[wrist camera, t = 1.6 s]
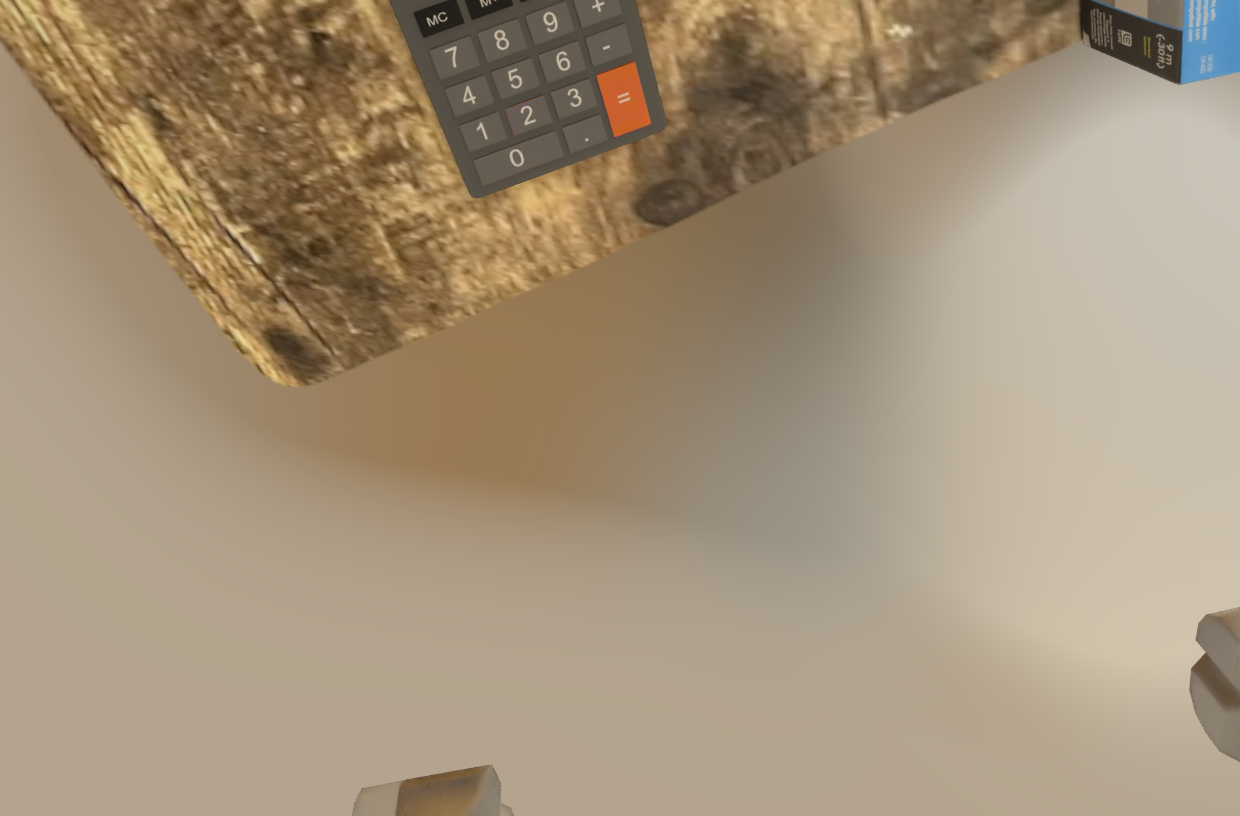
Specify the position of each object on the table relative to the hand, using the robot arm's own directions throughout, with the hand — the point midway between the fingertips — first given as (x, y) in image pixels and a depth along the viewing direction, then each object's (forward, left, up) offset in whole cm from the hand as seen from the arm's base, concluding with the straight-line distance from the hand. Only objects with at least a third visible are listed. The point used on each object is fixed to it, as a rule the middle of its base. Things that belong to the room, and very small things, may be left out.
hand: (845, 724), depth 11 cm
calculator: (+4, -2, -46) cm, 46 cm away
